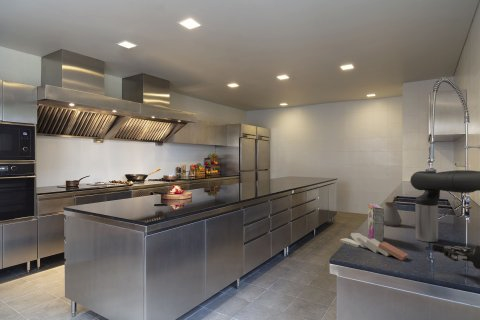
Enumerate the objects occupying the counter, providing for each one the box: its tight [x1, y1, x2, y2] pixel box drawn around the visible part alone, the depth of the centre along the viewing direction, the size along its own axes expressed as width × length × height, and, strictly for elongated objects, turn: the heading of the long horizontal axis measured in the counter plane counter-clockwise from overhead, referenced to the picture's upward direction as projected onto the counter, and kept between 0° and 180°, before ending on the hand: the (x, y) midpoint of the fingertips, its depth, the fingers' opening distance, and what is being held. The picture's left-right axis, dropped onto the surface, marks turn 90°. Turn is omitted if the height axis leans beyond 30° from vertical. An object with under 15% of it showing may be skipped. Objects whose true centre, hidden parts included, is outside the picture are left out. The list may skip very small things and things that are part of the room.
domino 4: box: [367, 238, 392, 257], centre depth 123 cm, size 4×2×10 cm
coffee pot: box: [383, 196, 403, 227], centre depth 176 cm, size 21×12×15 cm, turn 143°
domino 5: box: [378, 241, 409, 261], centre depth 118 cm, size 4×2×10 cm
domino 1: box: [339, 237, 362, 248], centre depth 136 cm, size 4×2×10 cm
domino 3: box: [357, 235, 380, 254], centre depth 127 cm, size 4×2×10 cm
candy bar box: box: [367, 203, 385, 243], centre depth 143 cm, size 11×5×16 cm, turn 168°
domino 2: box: [350, 232, 369, 249], centre depth 133 cm, size 4×2×10 cm
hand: (433, 247), depth 106 cm, fingers closed
